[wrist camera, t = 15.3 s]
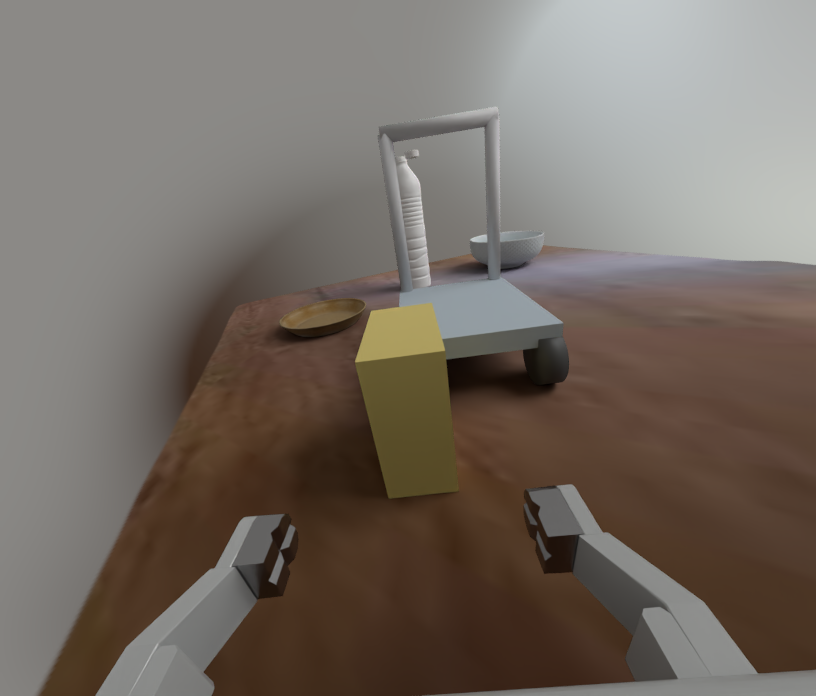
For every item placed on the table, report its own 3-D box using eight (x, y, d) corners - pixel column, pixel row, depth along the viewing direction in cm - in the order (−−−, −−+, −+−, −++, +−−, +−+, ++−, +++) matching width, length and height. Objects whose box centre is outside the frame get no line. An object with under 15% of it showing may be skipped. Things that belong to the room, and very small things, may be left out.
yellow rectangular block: (443, 412, 26) (431, 302, 22) (458, 491, 19) (445, 350, 15) (393, 418, 26) (371, 311, 22) (388, 498, 19) (354, 362, 15)
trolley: (498, 314, 45) (495, 111, 34) (566, 393, 26) (608, -7, 15) (406, 326, 46) (376, 131, 35) (406, 412, 27) (341, 43, 16)
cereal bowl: (512, 276, 63) (512, 241, 60) (457, 270, 76) (455, 241, 73) (557, 259, 71) (559, 228, 68) (500, 256, 84) (500, 230, 81)
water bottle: (397, 288, 68) (376, 161, 57) (420, 281, 71) (405, 158, 60) (417, 294, 61) (398, 150, 50) (443, 286, 64) (430, 148, 53)
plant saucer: (380, 325, 49) (378, 310, 47) (288, 352, 44) (282, 336, 43) (355, 305, 61) (353, 293, 60) (281, 325, 56) (276, 312, 55)
